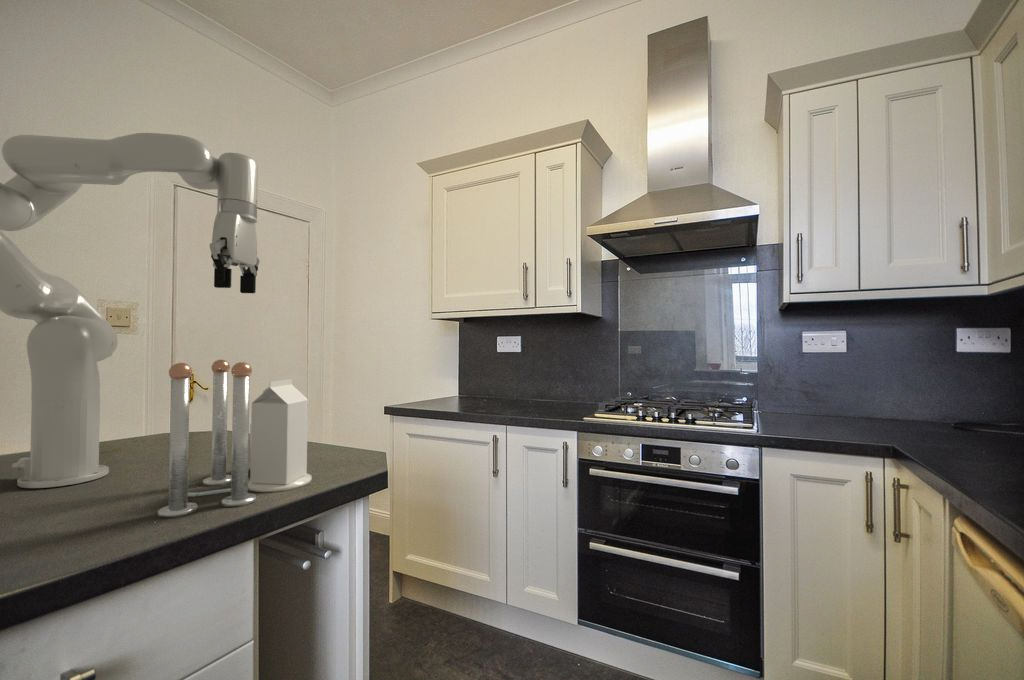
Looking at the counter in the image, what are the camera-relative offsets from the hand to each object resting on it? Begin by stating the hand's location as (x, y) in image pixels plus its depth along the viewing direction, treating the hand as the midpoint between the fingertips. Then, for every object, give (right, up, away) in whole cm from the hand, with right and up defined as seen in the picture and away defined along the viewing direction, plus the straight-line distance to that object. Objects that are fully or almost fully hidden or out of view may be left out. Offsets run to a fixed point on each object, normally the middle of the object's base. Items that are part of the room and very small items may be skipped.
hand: (235, 290), depth 100 cm
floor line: (+7, -38, -18) cm, 43 cm away
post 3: (+15, -38, -23) cm, 47 cm away
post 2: (+4, -38, -12) cm, 40 cm away
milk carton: (+16, -38, -12) cm, 43 cm away
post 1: (+8, -38, -28) cm, 48 cm away
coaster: (+16, -38, -13) cm, 43 cm away
